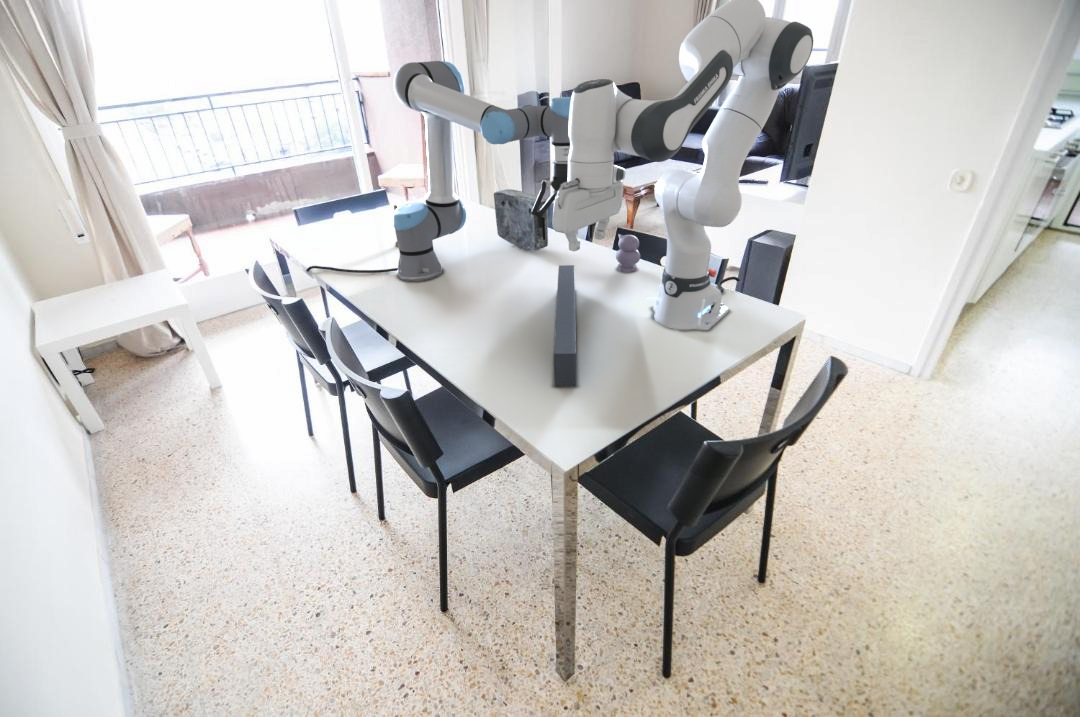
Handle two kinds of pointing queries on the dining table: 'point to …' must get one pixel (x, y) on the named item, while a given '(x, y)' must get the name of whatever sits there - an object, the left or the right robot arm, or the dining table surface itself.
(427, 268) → the left robot arm
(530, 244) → the concrete block
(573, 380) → the beam
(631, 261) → the cat figurine
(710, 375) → the dining table surface
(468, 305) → the dining table surface
